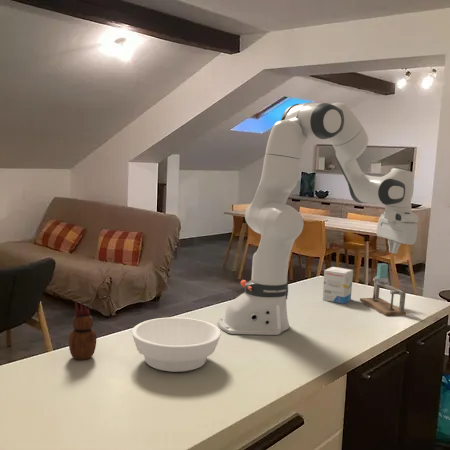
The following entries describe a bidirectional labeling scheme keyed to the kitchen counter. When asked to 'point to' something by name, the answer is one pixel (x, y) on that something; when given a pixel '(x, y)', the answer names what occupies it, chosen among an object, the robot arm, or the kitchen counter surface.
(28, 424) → the kitchen counter surface
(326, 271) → the ink box
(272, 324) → the robot arm
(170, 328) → the bowl
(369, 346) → the kitchen counter surface
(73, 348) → the wooden figurine
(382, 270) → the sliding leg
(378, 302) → the board
